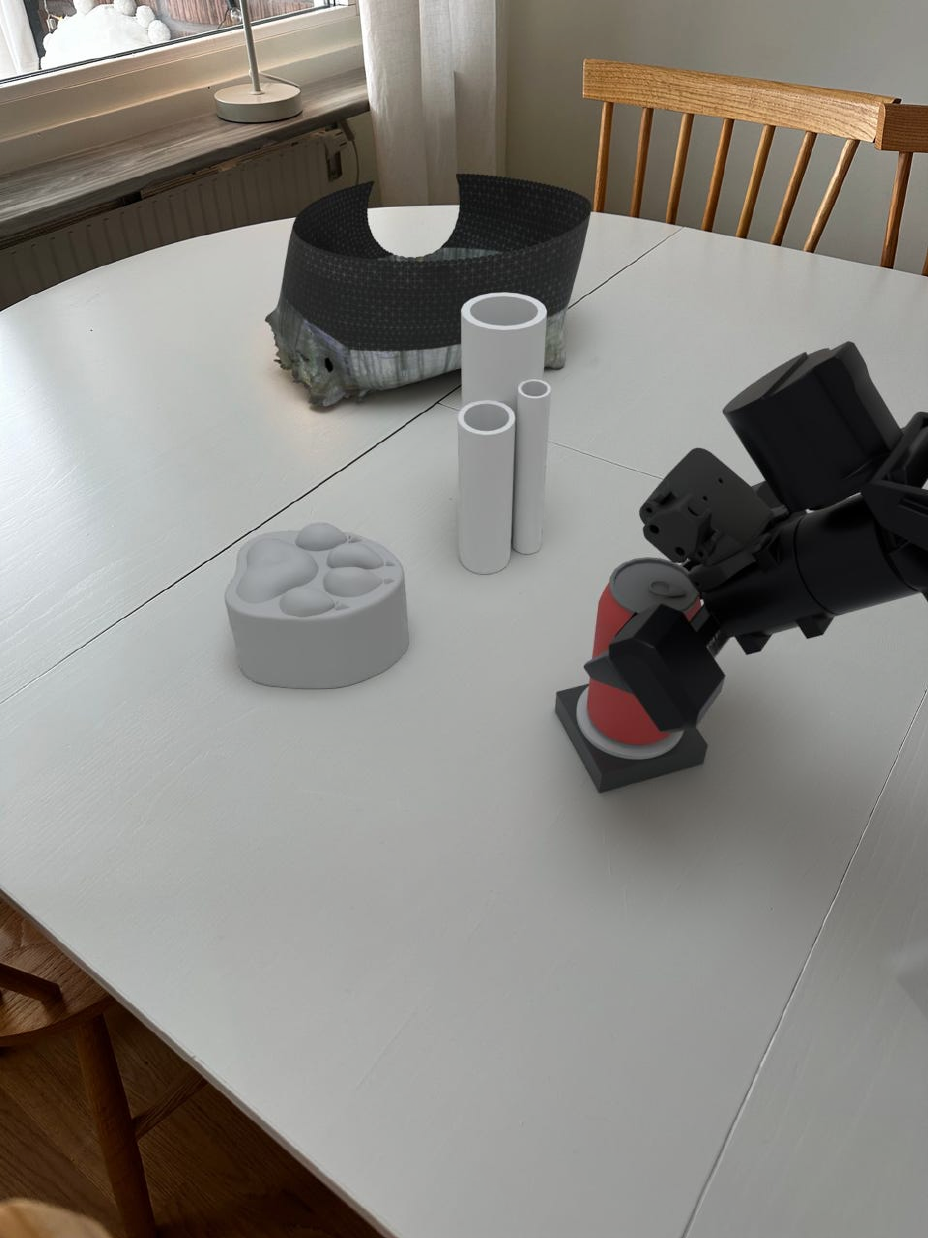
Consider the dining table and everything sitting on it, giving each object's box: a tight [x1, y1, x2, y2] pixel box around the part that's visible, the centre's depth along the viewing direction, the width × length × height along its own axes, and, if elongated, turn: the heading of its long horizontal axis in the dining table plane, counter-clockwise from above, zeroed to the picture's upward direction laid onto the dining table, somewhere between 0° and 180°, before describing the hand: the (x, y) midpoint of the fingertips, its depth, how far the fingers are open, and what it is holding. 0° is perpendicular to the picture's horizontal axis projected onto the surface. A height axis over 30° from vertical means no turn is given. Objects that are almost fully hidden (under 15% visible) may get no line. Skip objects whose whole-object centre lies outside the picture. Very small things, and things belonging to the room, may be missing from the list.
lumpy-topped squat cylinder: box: [224, 521, 410, 690], centre depth 75 cm, size 10×13×9 cm
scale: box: [554, 683, 709, 794], centre depth 70 cm, size 8×8×2 cm
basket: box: [264, 173, 593, 408], centre depth 107 cm, size 28×35×16 cm
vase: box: [457, 293, 552, 575], centre depth 81 cm, size 11×7×20 cm, turn 178°
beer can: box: [587, 556, 702, 745], centre depth 65 cm, size 7×7×12 cm
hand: (623, 630), depth 64 cm, fingers open, 9 cm apart
